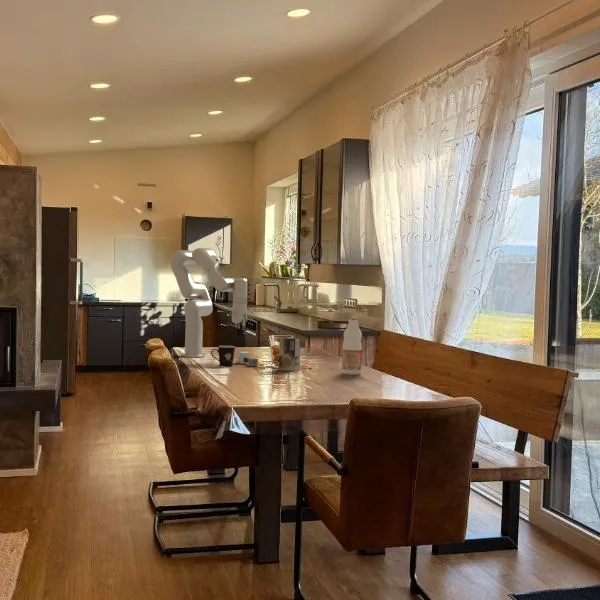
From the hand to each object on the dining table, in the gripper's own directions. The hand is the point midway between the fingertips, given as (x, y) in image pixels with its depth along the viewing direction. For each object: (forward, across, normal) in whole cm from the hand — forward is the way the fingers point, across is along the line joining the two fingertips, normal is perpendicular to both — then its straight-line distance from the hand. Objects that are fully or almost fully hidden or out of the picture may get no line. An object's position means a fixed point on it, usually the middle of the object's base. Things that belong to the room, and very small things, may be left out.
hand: (239, 335), depth 384 cm
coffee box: (+15, +33, +12) cm, 38 cm away
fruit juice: (+16, +53, +36) cm, 66 cm away
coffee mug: (+14, +11, -14) cm, 23 cm away
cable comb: (+14, +3, 0) cm, 14 cm away
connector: (+14, +17, 0) cm, 22 cm away
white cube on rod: (+14, +6, 0) cm, 15 cm away
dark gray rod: (+14, +10, 0) cm, 17 cm away
